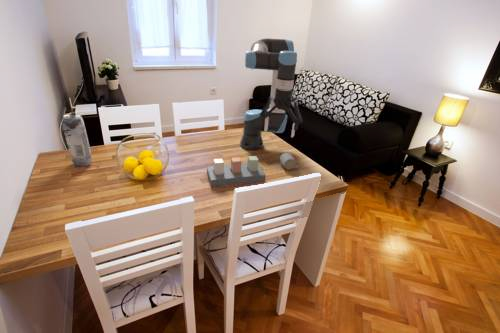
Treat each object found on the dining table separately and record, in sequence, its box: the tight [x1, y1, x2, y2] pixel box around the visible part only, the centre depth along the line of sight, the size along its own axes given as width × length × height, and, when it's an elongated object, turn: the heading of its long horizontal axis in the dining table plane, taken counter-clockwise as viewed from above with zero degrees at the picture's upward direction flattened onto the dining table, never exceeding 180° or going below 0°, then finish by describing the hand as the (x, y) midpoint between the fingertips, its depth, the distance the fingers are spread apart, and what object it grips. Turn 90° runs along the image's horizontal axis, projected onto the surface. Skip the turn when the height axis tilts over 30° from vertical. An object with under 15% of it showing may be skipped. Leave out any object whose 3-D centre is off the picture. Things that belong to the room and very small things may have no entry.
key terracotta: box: [230, 156, 242, 174], centre depth 142 cm, size 4×4×7 cm
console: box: [206, 162, 266, 188], centre depth 145 cm, size 14×28×4 cm, turn 106°
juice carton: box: [61, 113, 92, 168], centre depth 143 cm, size 9×10×27 cm
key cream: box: [213, 158, 225, 175], centre depth 140 cm, size 4×4×7 cm
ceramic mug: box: [279, 152, 300, 171], centre depth 158 cm, size 11×8×8 cm
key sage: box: [247, 155, 259, 172], centre depth 145 cm, size 4×4×7 cm
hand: (278, 133), depth 133 cm, fingers open, 13 cm apart
